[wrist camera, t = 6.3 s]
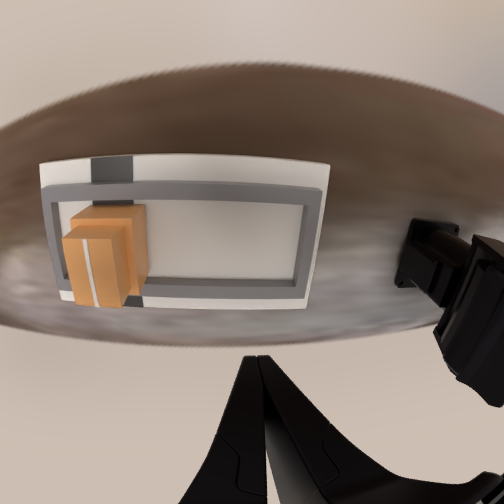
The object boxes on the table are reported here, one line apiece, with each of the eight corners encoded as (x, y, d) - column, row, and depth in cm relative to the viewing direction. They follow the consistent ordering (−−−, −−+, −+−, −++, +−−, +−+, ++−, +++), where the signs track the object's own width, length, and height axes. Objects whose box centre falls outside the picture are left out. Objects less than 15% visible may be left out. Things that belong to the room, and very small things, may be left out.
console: (323, 163, 18) (336, 167, 16) (301, 300, 23) (309, 316, 21) (48, 161, 15) (31, 166, 13) (67, 292, 20) (57, 306, 18)
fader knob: (144, 204, 17) (119, 232, 12) (149, 271, 19) (131, 315, 14) (89, 205, 16) (52, 231, 11) (98, 269, 18) (70, 310, 13)
